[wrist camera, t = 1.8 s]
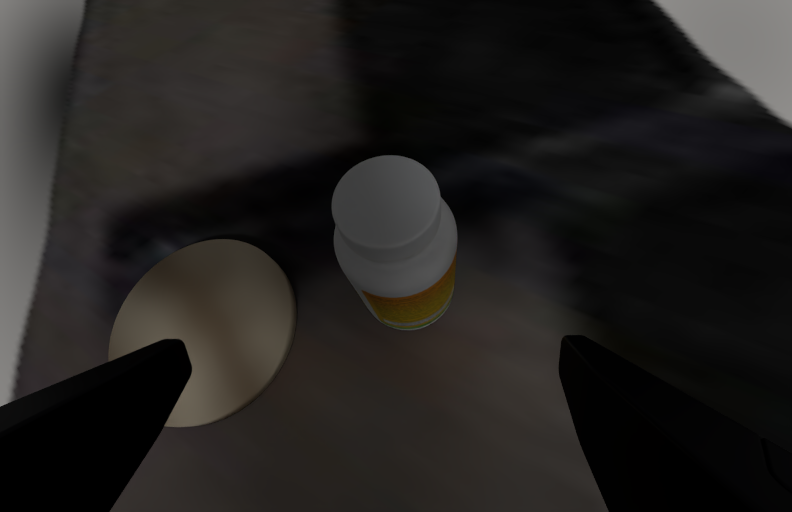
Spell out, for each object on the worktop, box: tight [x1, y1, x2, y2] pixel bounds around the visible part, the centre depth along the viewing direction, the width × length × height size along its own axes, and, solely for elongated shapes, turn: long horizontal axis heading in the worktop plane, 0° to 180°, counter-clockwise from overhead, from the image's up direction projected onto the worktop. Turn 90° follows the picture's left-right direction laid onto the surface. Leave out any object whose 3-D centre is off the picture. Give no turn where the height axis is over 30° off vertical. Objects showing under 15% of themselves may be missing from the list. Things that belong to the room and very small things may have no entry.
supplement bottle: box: [332, 155, 457, 330], centre depth 18 cm, size 5×5×10 cm
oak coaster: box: [109, 239, 297, 427], centre depth 22 cm, size 11×11×1 cm
